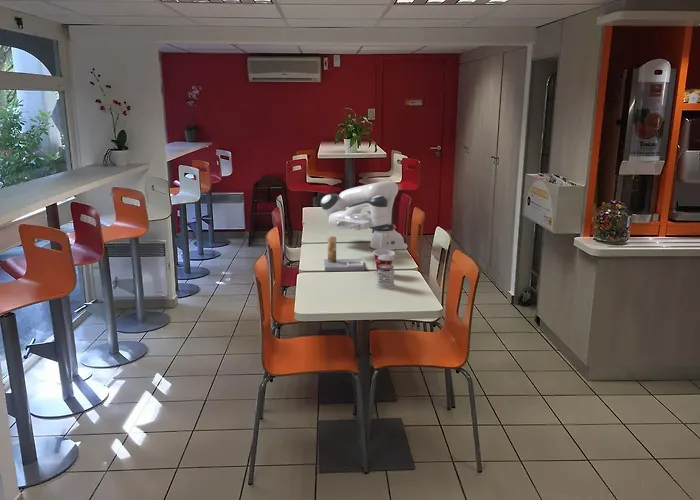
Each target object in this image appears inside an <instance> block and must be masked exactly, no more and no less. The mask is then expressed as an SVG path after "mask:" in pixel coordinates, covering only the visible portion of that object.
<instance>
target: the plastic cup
mask: <svg viewBox="0 0 700 500" xmlns="http://www.w3.org/2000/svg"><path fill="white" fill-rule="evenodd" d="M372 253H373V256H374V260H375V262H376V263H375V262H374V263H375V270H376V271H377V272H376V274H377V275H378V269H379V265H382V264H383V265H384V264H388V265H393V264H392V262H393V260H392V261H387V263H386V261H383V260H378V257H379V256H380V255H383V254H386V249H375V250H373V251H372ZM387 254H389V255H392V256H393V257H395V255H396V252H395V250H387ZM376 260H377V261H376ZM379 261H380V262H379ZM378 262H379V263H378ZM384 271H391V270H388V269H387V270H384ZM384 271H383V272H384ZM384 277H385V275H384Z"/></svg>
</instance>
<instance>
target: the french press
mask: <svg viewBox="0 0 700 500" xmlns="http://www.w3.org/2000/svg"><path fill="white" fill-rule="evenodd" d="M385 237H389V235H388V234H385ZM395 259H396V258H395V256H392V255H389V254H387V241H386V254H383V255H380V256H379V257H378V260H383V261H386V263H387V261H392V262H393V261H394V260H395ZM376 261H377V260H376ZM379 262H380V261H379ZM379 262H378V263H379ZM372 265H373V269H372V271H373V272H374V274H375V275H376V276H377V284H375V288H377V289H380V290H393V289H396V288H397V285H396V284H395V265H393V264H391V265H388V264H384V265H383V264H382V265H379V269H378V274H377V269H376V262H375V261H374V262H373V263H372ZM387 269H388V270H390V271H384V270H387ZM383 271H384V272H383ZM384 275H385V276H384Z"/></svg>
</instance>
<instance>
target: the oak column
mask: <svg viewBox="0 0 700 500" xmlns="http://www.w3.org/2000/svg"><path fill="white" fill-rule="evenodd" d="M327 259H328V262H331V263H333V262H336V259H337V237H336V236H333V235H331V236H328V237H327Z"/></svg>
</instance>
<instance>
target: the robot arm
mask: <svg viewBox="0 0 700 500" xmlns="http://www.w3.org/2000/svg"><path fill="white" fill-rule="evenodd" d="M398 192H399V186H398V184H397V182H395V181H393V180H382V181H378V182H373V183H368V184H364V185H359V186H355V187H351V188H348V189H345V190H343V191H341V192H340V193H339V194H338V193H328V194H325V195H324V196H322V198H321V199H320V201H319V202H320V207H321V208H322V209H323V211H324V213H325V214H326V215H327V216H328V224H329V225H330V227H331V228H333V229H337V230H351V229H354V230H356V231H361V230H367V229H371V240H370V244H369V248H371V249H375V250H378V249H386V241H387V250H391V251H395V249H396V250H407V249H408V244H407V243H405V242H404V237H403V235H402V234H401V233H399V232H398V231H396V229H397V226H396V225H395V224H394V223H392V212H393V208H394V207H393V205H394V202H395V199H396V197H397V195H398ZM367 207H369V210H370V211H364V212H362V210H363V208H367ZM385 234H388V235H389V237H385Z"/></svg>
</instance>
